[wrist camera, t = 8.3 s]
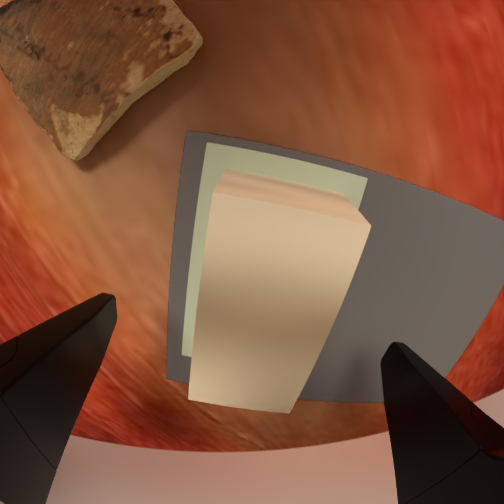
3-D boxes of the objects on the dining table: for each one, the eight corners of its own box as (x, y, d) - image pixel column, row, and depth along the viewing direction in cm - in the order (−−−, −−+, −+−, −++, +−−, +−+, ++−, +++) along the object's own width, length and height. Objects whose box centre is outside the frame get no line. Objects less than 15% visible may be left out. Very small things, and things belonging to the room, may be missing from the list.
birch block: (285, 361, 14) (289, 413, 11) (199, 347, 13) (188, 399, 11) (342, 193, 10) (371, 225, 7) (226, 168, 10) (213, 192, 7)
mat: (519, 228, 11) (527, 233, 10) (423, 394, 16) (426, 401, 15) (190, 130, 10) (185, 131, 9) (168, 370, 15) (166, 380, 14)
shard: (-7, 22, 7) (-29, 20, 5) (101, -87, 5) (85, -102, 3) (86, 162, 11) (62, 173, 9) (235, 36, 9) (229, 23, 7)
